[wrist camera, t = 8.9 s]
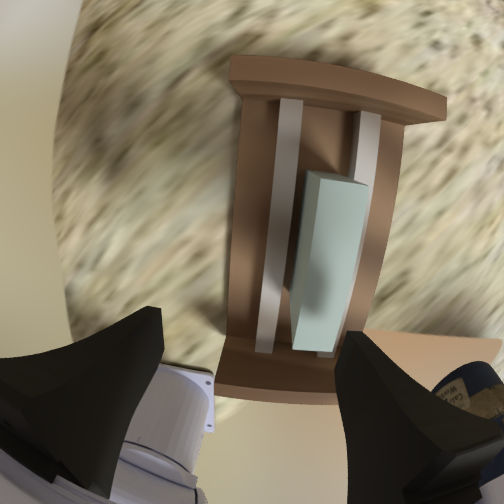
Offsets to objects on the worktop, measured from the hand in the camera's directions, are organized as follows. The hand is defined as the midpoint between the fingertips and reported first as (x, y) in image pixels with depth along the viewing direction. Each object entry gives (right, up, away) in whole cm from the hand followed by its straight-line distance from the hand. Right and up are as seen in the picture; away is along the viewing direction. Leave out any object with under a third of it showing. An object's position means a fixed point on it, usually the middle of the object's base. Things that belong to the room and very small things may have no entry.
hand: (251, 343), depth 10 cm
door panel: (+4, +4, +7) cm, 9 cm away
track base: (+4, +5, +8) cm, 10 cm away
